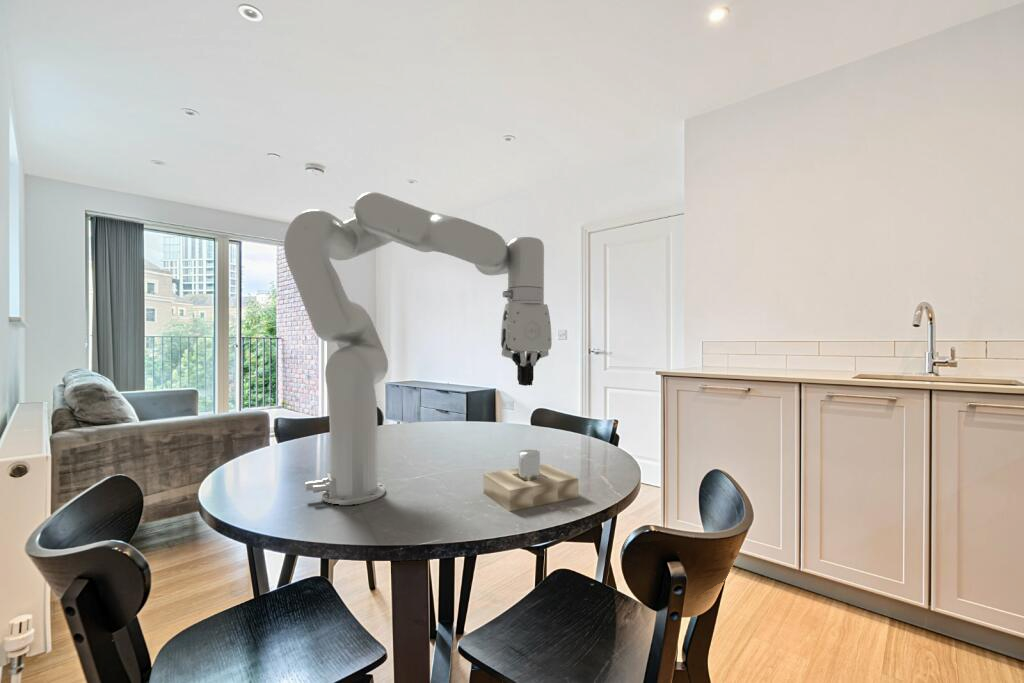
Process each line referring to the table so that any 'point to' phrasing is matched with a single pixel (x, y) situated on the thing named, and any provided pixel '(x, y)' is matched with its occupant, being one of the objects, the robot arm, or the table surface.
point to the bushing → (529, 465)
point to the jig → (530, 488)
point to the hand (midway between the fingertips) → (525, 384)
